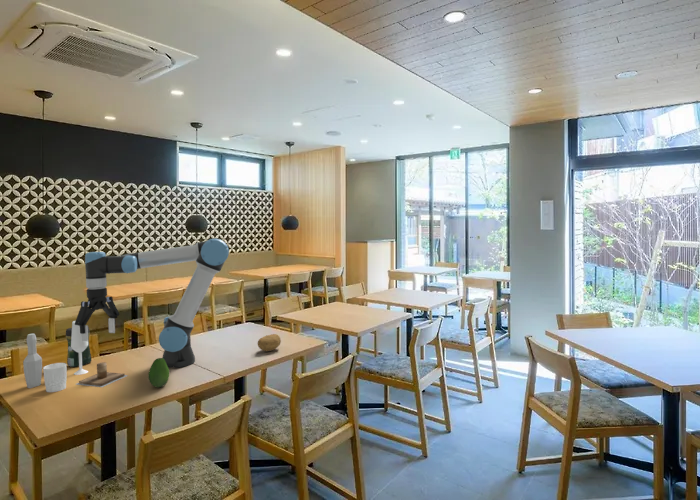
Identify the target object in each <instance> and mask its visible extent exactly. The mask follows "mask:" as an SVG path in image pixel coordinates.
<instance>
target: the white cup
mask: <svg viewBox="0 0 700 500" xmlns="http://www.w3.org/2000/svg"><path fill="white" fill-rule="evenodd" d="M67 366H68V365H67V362H55V363H51V364H48V365H45V366H42V371H43V372H42V373H43V381H44V387H45V392H46V393H55V392H57V393H58V392H60V391H62V390H65V389H67V378H68V377H67V375H68V374H67V373H68V370H67V369H68V368H67Z"/></svg>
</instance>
